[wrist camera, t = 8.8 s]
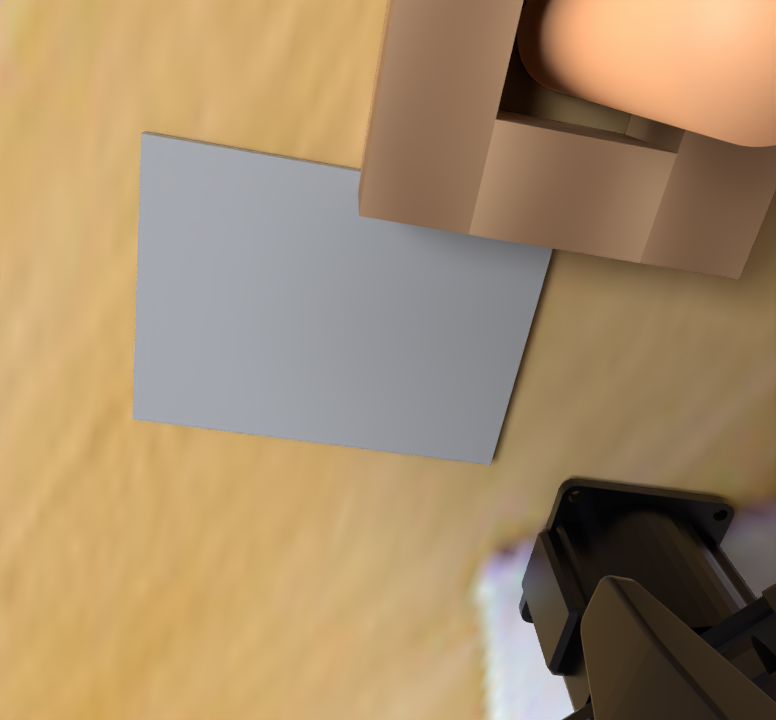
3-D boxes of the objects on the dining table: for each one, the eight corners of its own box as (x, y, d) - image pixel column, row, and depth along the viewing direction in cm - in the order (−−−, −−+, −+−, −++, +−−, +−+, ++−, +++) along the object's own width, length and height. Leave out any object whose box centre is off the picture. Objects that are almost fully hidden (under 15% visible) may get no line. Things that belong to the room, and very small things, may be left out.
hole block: (824, -149, 17) (931, -189, 14) (681, 242, 21) (739, 279, 18) (428, -249, 16) (447, -318, 13) (357, 186, 20) (359, 215, 17)
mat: (560, 204, 21) (564, 207, 20) (488, 458, 24) (490, 465, 24) (145, 131, 19) (141, 133, 19) (135, 413, 23) (132, 419, 22)
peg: (644, -19, 18) (934, -67, 9) (608, 101, 19) (832, 163, 10) (534, -43, 18) (723, -120, 9) (505, 81, 19) (644, 126, 10)
